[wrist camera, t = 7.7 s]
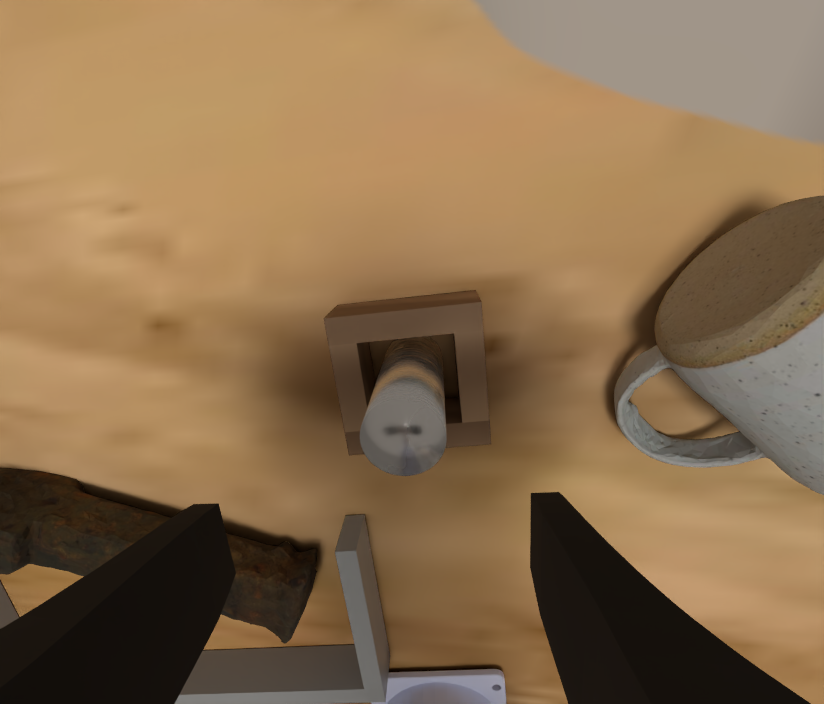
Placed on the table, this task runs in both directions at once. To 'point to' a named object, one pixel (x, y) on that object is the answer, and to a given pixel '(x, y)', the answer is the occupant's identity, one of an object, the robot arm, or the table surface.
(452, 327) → the hollow square frame
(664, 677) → the robot arm
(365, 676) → the u-shaped frame
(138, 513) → the hand tool
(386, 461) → the rod
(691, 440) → the ceramic mug
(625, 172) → the table surface
